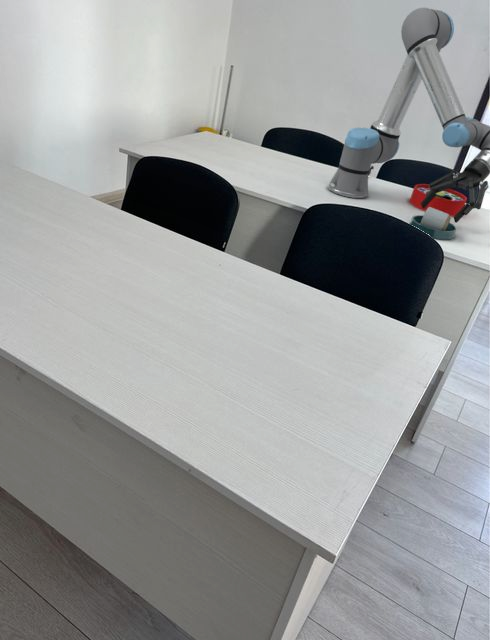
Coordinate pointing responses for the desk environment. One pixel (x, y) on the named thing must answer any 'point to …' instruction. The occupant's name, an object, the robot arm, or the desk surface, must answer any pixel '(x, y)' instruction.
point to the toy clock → (438, 199)
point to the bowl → (434, 233)
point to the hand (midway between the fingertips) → (438, 212)
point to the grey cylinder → (435, 219)
